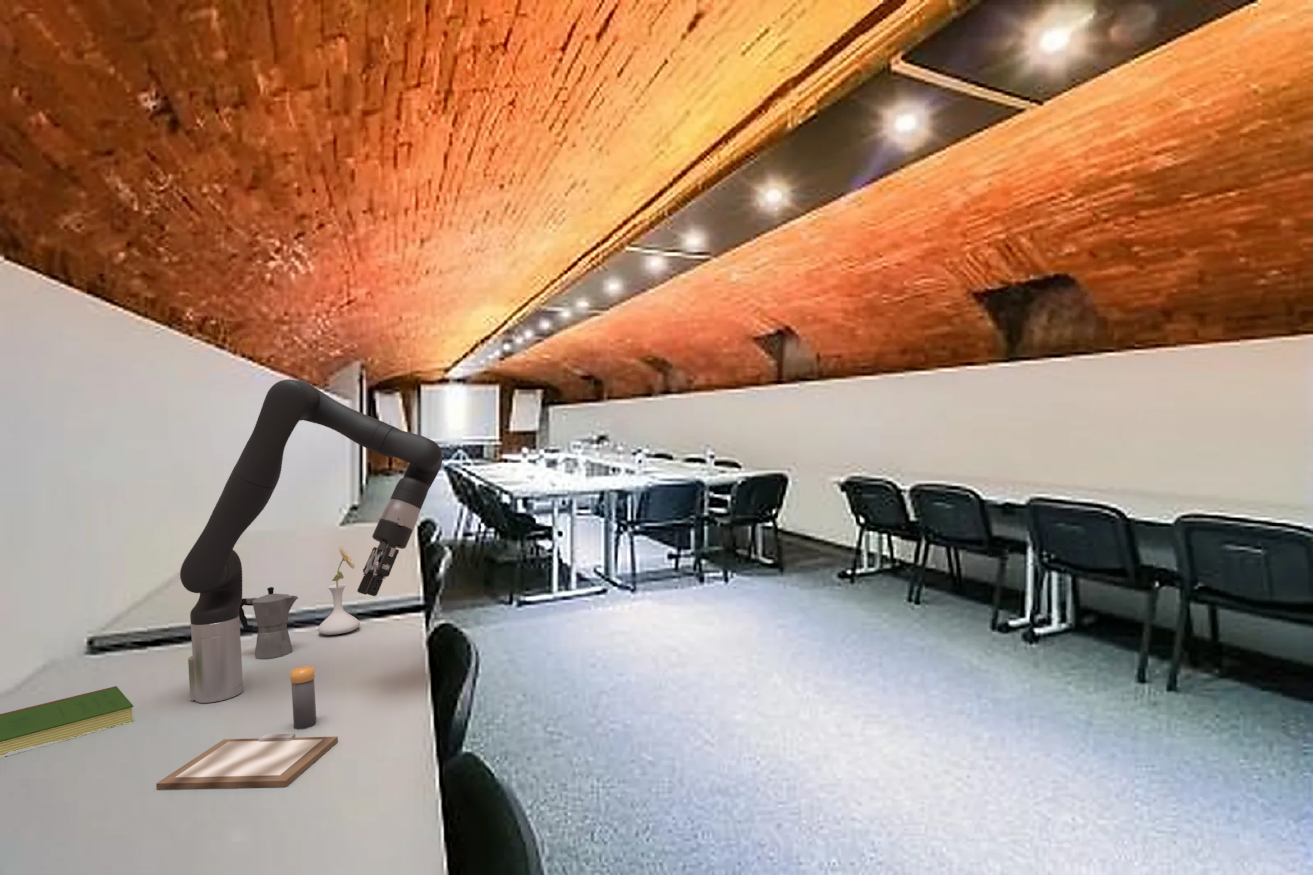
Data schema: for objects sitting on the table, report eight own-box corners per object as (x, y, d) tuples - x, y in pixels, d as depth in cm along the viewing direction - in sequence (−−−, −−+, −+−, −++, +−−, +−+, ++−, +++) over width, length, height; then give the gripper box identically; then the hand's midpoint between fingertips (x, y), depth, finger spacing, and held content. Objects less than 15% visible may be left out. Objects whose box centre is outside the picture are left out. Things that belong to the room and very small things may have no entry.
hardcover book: (117, 702, 153) (116, 686, 153) (134, 723, 141) (133, 705, 141) (-42, 743, 135) (-43, 724, 135) (-39, 771, 122) (-40, 751, 122)
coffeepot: (305, 645, 189) (302, 581, 189) (295, 656, 180) (291, 588, 180) (244, 652, 186) (240, 586, 186) (230, 663, 177) (227, 594, 176)
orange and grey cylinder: (288, 729, 133) (285, 673, 133) (301, 720, 137) (298, 666, 137) (309, 729, 133) (306, 673, 133) (321, 720, 137) (318, 665, 137)
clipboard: (156, 789, 112) (155, 778, 112) (223, 744, 127) (223, 735, 127) (286, 787, 110) (285, 775, 110) (337, 741, 126) (337, 732, 126)
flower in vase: (349, 637, 196) (345, 550, 196) (310, 639, 196) (305, 552, 196) (369, 624, 209) (365, 543, 209) (332, 626, 209) (328, 544, 209)
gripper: (373, 519, 156) (342, 587, 150) (388, 515, 145) (355, 589, 139) (404, 530, 160) (375, 598, 154) (421, 528, 148) (391, 601, 142)
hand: (366, 594), depth 146 cm, fingers open, 8 cm apart
